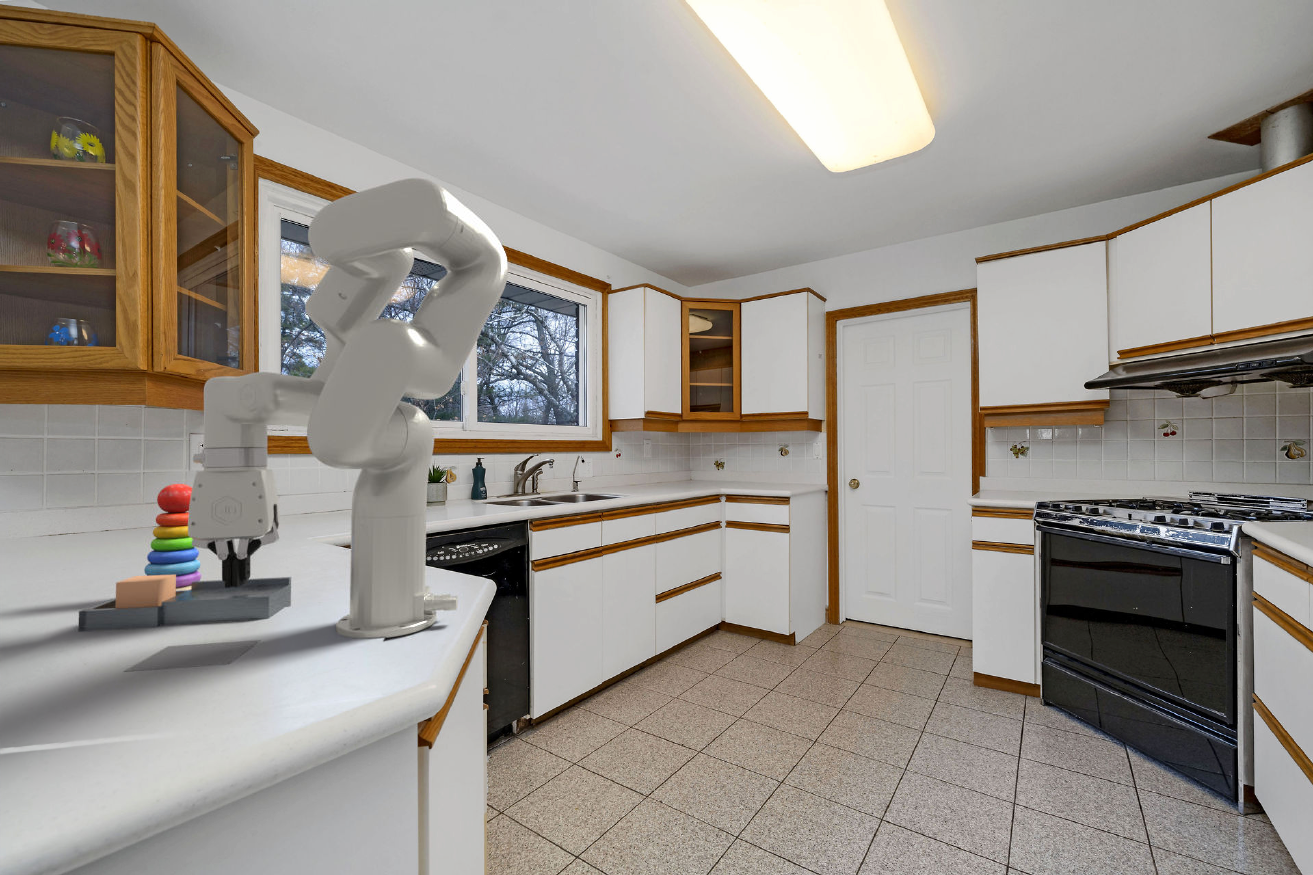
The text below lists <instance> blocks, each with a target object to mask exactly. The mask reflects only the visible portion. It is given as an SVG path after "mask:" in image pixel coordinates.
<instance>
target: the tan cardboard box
mask: <svg viewBox="0 0 1313 875" xmlns="http://www.w3.org/2000/svg"><path fill="white" fill-rule="evenodd" d="M175 595H176V575H153V576H147V575H137V576H132V577H128V578H127V579H123V580H120V581H117V582H115V598H116V607H115V608H127V607H146V606H161V605H162V602H163V601H165V600H167V599H170V598H172V597H174V596H175Z"/></svg>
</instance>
